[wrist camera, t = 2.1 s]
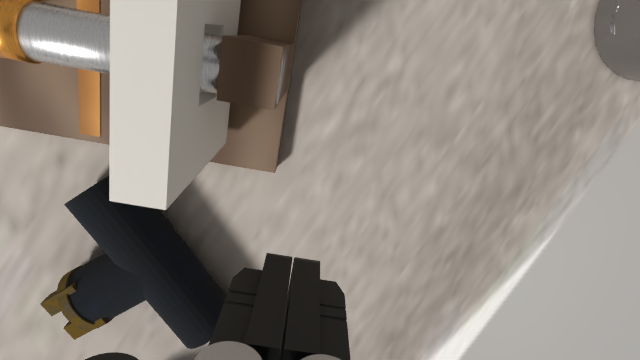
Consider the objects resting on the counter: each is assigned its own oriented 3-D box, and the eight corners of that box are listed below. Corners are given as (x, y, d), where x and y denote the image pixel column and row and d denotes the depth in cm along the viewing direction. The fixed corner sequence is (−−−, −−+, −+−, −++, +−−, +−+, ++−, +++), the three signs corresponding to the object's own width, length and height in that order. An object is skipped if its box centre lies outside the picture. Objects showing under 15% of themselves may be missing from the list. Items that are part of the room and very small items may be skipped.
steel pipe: (288, 44, 23) (282, 45, 20) (279, 102, 24) (273, 111, 21) (-117, -32, 22) (-190, -43, 19) (-106, 32, 23) (-173, 32, 20)
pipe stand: (310, -56, 27) (304, -104, 18) (277, 166, 33) (258, 220, 23) (-26, -124, 26) (-223, -214, 17) (-4, 118, 31) (-143, 154, 22)
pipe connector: (114, 390, 34) (-18, 255, 30) (140, 345, 39) (30, 224, 35) (227, 333, 32) (104, 180, 28) (239, 294, 37) (136, 159, 33)
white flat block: (245, -41, 25) (183, -101, 14) (226, 142, 29) (165, 210, 18) (205, -49, 25) (110, -115, 14) (191, 136, 29) (109, 200, 18)
